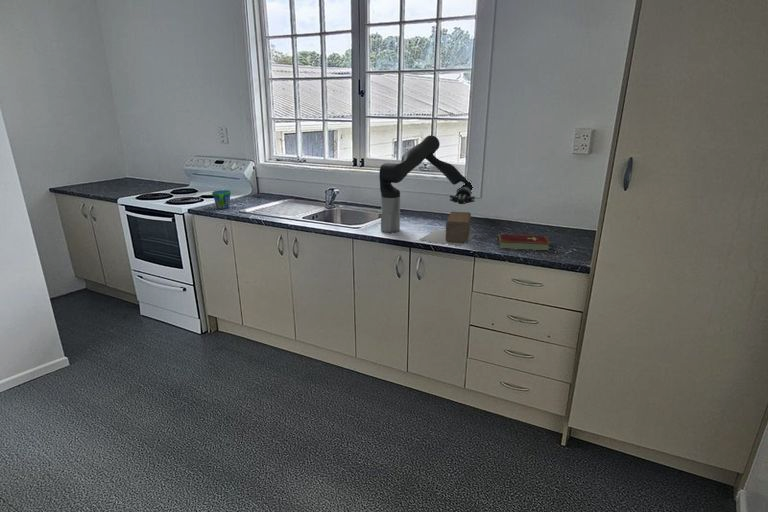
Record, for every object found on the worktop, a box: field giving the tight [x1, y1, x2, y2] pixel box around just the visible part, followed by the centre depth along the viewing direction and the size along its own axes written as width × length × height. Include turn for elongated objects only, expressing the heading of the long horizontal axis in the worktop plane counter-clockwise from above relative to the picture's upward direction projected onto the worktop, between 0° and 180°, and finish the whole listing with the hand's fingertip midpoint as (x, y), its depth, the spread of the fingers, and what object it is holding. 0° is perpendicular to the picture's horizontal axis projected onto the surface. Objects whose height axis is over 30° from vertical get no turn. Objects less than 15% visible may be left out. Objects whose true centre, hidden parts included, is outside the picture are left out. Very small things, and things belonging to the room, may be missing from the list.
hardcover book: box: [497, 233, 551, 251], centre depth 202 cm, size 12×21×4 cm, turn 80°
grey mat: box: [418, 228, 475, 247], centre depth 215 cm, size 21×20×1 cm
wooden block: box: [445, 211, 472, 244], centre depth 214 cm, size 10×10×20 cm
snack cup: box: [211, 189, 232, 210], centre depth 275 cm, size 16×10×10 cm
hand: (460, 202), depth 220 cm, fingers closed
